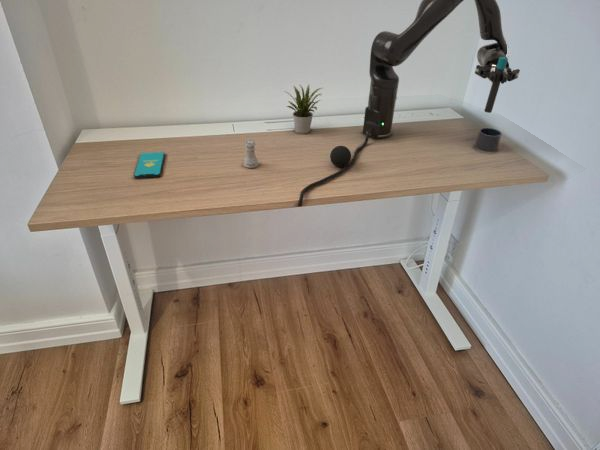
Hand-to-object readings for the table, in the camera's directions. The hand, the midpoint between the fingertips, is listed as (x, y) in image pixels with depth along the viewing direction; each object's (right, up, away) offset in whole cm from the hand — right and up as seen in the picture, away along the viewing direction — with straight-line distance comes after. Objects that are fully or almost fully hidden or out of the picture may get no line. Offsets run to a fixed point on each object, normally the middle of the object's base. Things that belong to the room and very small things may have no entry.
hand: (498, 79), depth 126 cm
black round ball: (-47, -25, +4) cm, 54 cm away
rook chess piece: (-75, -26, +2) cm, 79 cm away
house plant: (-58, -10, +24) cm, 63 cm away
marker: (+1, -7, +9) cm, 11 cm away
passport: (-105, -26, 0) cm, 108 cm away
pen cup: (+3, -18, +16) cm, 24 cm away
